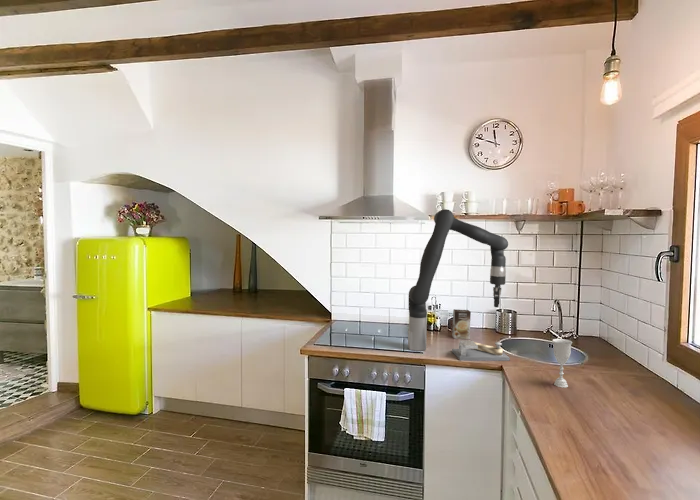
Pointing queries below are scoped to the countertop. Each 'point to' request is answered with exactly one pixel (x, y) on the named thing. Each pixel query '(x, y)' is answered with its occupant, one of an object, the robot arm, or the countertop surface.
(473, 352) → the hinge plate
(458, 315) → the coffee box
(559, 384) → the chalice
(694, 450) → the countertop surface
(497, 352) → the link
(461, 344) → the keeper
